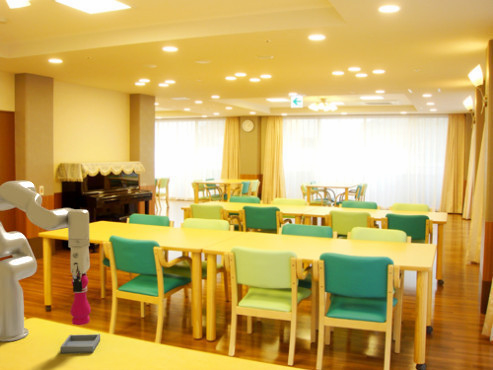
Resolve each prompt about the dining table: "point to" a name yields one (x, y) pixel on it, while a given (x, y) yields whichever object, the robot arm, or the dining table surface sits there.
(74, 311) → the pepper mill
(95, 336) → the tray
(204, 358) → the dining table surface
